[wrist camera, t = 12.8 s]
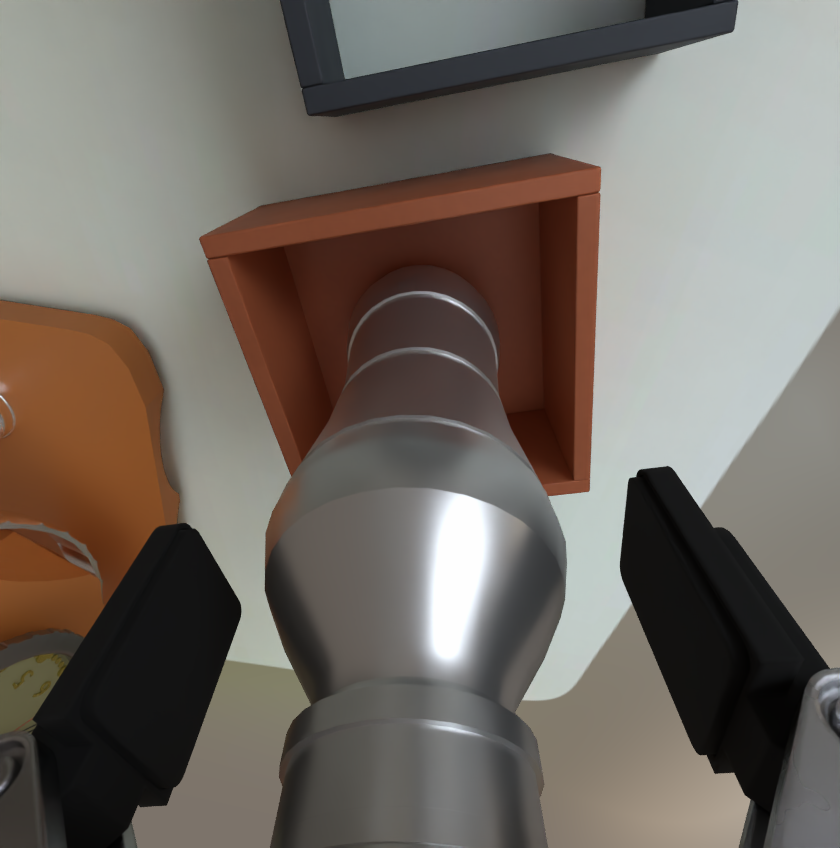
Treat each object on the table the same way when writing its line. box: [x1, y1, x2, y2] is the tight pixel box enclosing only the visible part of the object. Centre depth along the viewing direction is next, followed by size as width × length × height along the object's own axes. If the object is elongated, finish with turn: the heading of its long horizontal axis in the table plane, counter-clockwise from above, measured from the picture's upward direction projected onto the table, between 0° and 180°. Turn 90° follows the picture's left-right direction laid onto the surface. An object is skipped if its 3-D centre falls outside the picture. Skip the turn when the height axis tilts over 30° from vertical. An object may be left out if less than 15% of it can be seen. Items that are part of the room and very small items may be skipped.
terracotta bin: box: [199, 153, 601, 496], centre depth 20 cm, size 12×12×7 cm
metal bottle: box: [265, 265, 567, 848], centre depth 14 cm, size 6×7×20 cm
